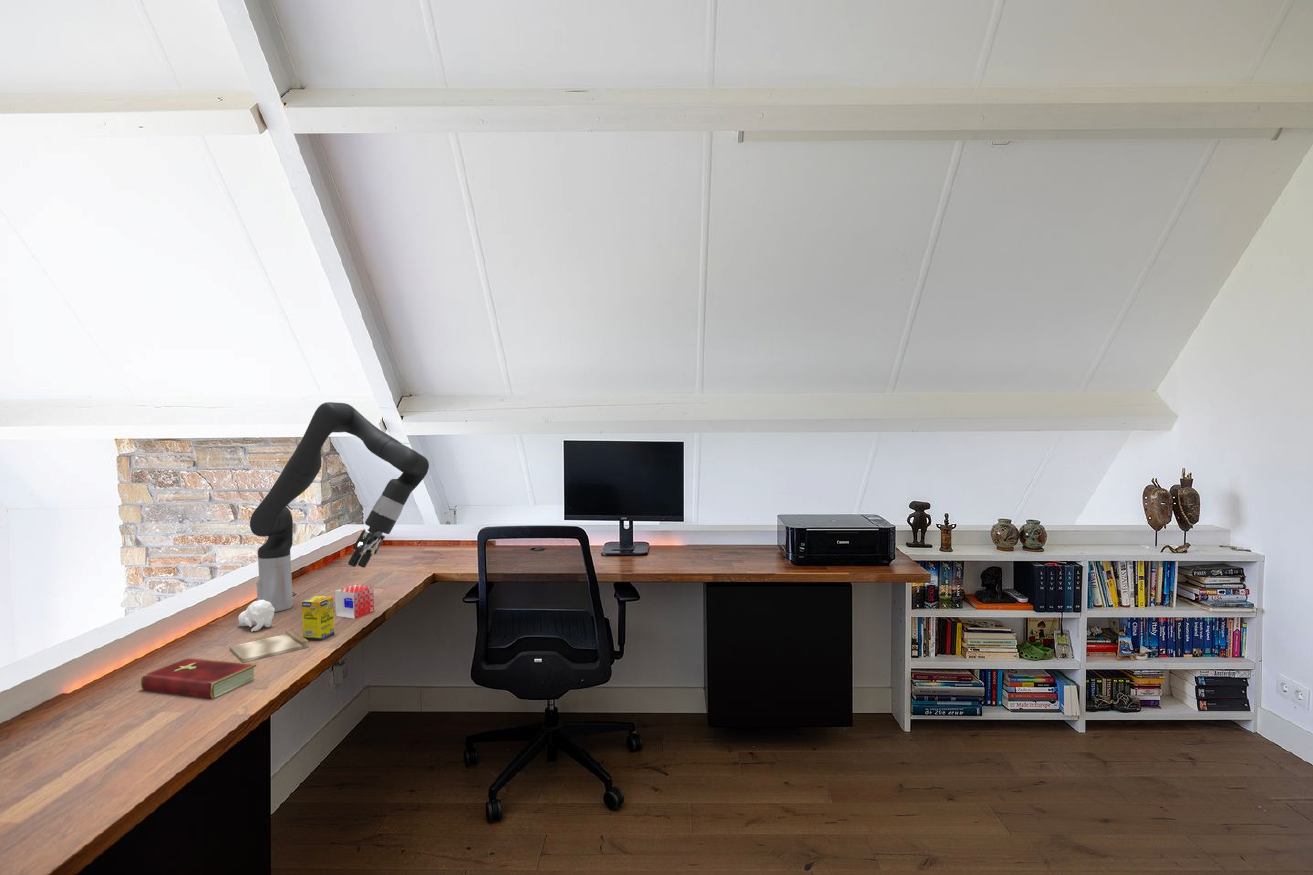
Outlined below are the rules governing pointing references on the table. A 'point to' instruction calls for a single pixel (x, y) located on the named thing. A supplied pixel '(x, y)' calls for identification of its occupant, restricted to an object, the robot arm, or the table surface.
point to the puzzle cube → (354, 601)
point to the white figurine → (257, 615)
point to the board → (270, 646)
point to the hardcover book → (198, 677)
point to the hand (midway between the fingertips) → (356, 566)
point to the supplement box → (318, 618)
